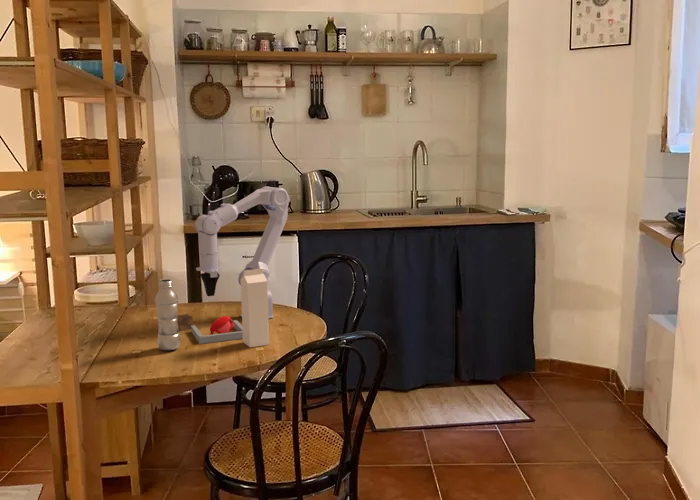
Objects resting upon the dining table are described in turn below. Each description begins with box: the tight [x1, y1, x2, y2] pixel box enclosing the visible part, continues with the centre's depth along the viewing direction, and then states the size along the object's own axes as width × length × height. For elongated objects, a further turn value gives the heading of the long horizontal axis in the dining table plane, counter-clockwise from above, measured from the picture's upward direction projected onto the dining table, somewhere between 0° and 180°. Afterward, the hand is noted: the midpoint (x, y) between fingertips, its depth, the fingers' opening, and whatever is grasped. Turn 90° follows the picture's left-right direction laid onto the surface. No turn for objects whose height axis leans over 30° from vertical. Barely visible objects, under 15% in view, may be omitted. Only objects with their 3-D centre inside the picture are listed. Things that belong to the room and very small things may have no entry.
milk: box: [240, 269, 270, 348], centre depth 199 cm, size 6×6×22 cm
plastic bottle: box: [154, 278, 181, 351], centre depth 194 cm, size 6×7×20 cm
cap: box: [209, 315, 234, 335], centre depth 208 cm, size 8×6×6 cm
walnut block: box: [177, 313, 194, 332], centre depth 217 cm, size 4×4×4 cm
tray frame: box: [190, 319, 243, 345], centre depth 209 cm, size 14×14×2 cm
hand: (210, 295), depth 218 cm, fingers closed
